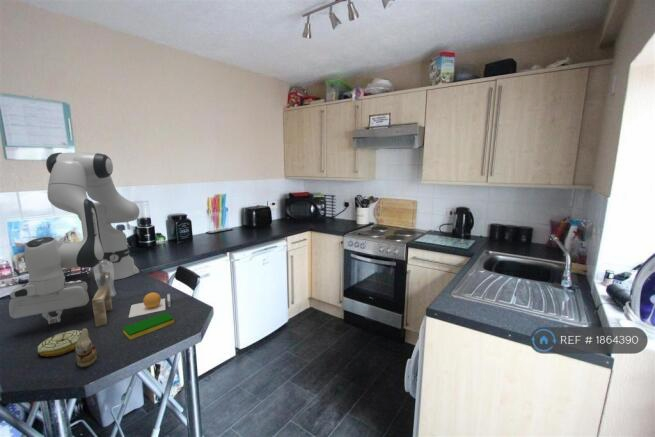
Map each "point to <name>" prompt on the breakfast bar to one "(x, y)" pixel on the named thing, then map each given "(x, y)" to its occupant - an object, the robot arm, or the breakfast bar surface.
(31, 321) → the breakfast bar surface
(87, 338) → the chocolate bunny
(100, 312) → the bridge
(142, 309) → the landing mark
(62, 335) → the decorated donut
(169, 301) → the stopper
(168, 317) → the dish sponge
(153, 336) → the breakfast bar surface
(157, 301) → the ball
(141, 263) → the breakfast bar surface
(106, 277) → the beer glass
